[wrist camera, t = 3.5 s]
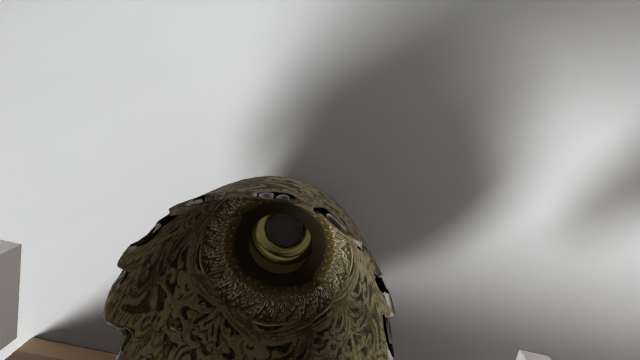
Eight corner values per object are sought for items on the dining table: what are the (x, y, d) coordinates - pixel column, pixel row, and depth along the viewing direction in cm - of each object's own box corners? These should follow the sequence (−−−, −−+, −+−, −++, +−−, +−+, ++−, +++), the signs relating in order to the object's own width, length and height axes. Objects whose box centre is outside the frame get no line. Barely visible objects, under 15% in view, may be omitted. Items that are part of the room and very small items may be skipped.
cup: (278, 334, 19) (240, 502, 11) (167, 220, 18) (43, 320, 10) (403, 238, 18) (456, 354, 10) (293, 110, 17) (257, 129, 9)
